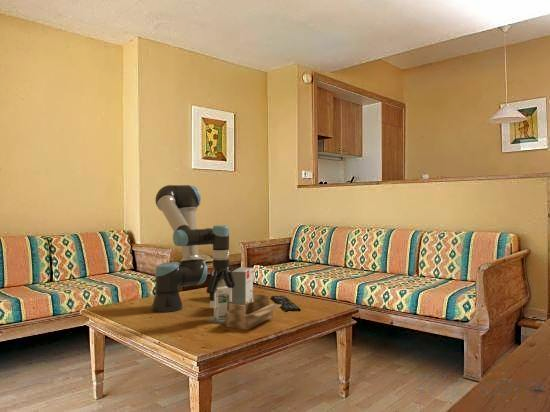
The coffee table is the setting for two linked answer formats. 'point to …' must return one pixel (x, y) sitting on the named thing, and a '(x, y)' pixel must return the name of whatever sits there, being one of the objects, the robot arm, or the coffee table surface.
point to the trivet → (215, 320)
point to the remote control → (285, 303)
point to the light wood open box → (250, 313)
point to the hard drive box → (242, 286)
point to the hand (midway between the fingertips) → (221, 304)
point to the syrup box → (221, 302)
